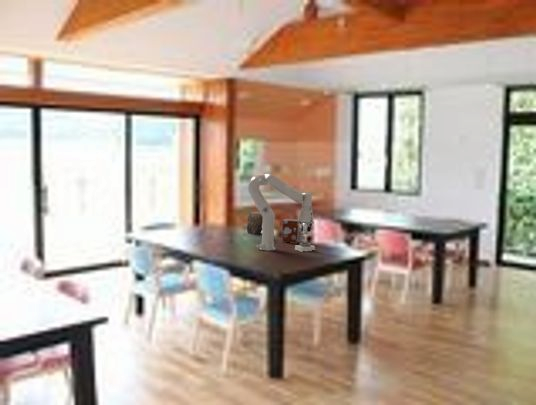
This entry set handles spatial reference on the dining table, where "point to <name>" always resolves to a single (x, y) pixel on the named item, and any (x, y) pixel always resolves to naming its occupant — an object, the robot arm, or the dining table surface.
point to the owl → (254, 223)
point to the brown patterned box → (291, 231)
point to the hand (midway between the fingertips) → (305, 230)
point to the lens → (305, 228)
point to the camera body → (304, 247)
